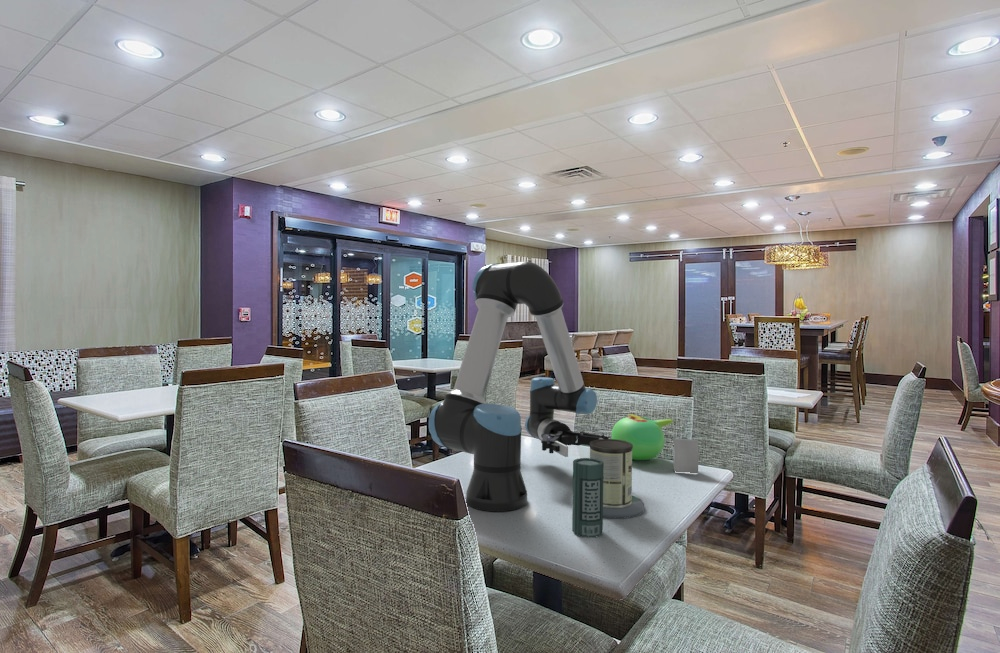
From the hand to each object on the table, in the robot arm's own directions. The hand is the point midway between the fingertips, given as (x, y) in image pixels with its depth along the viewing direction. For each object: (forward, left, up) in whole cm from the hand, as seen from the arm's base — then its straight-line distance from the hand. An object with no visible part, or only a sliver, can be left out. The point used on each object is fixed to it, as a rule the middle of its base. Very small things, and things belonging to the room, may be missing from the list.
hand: (590, 449), depth 139 cm
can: (-13, -22, -12) cm, 28 cm away
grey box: (+37, +8, -12) cm, 40 cm away
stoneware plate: (0, -10, -11) cm, 15 cm away
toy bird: (+33, +26, -12) cm, 43 cm away
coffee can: (0, -10, -10) cm, 14 cm away
